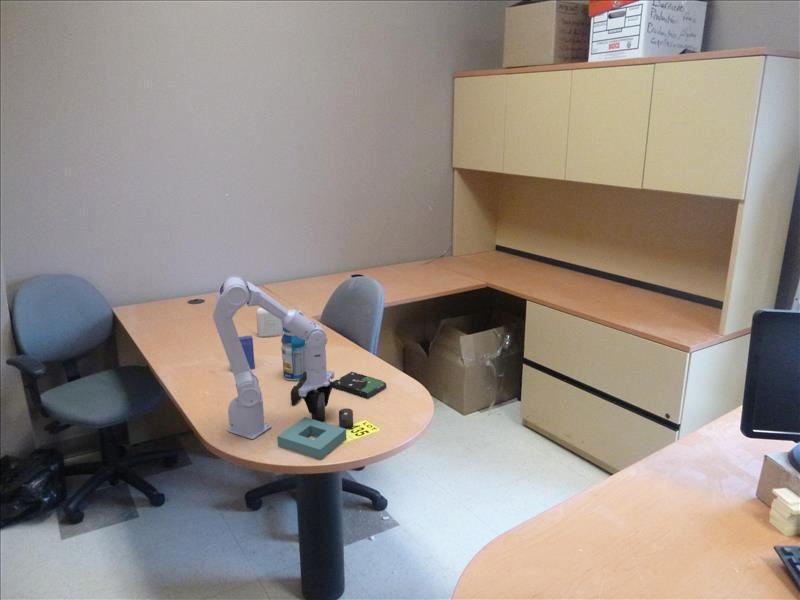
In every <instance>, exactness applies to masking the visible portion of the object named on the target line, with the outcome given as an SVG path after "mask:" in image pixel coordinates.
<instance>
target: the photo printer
mask: <svg viewBox="0 0 800 600" xmlns="http://www.w3.org/2000/svg"><path fill="white" fill-rule="evenodd" d="M256 327H257V328H256V330H257V331H256V332H257V336H258V337H259V338H262V337H263V338H264V337H282V336H283V334H284V332H283V326H282V322H281V320H280V319H279V318H277V317H276V316H274V315H272V314H271V313H269V312H268V311H266V310H264V309H263V308H261V307H259V308H257V311H256Z"/></svg>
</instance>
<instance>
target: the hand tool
mask: <svg viewBox="0 0 800 600" xmlns="http://www.w3.org/2000/svg"><path fill="white" fill-rule="evenodd" d="M306 380H307V373H306V371H305V372H304V373H303V377H302V378H300V379H299V380H298V382H297V384H296V385H293V387H292V388H291V391H290V400H291V406H295V405H296V404H298V403H299V401H301V400H302V396H299V389H300V388H301V387H302V386H303V384H304V383H305V381H306Z"/></svg>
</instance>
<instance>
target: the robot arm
mask: <svg viewBox="0 0 800 600" xmlns="http://www.w3.org/2000/svg"><path fill="white" fill-rule="evenodd" d="M216 295H217V297H216V299H215V303H214V306H213V309H212V318H213V319H212V320H213V322H214V324H215V327H216V330H217V333H218V336H219V338H220V341H221V344H222V345H223V350H224V351H225V355H226V357H227V359H228V360H227V361H228V363H229V365H230V369H231V372H232V371H233V372H232V374H233V376H234V380H235V387H236V392H237V397H234V398H233V399H232V400H231V401H230V402H229V404H228V408H227V415H228V425H229V428H228V429H227V432H229V433H232V434H234V435H238V436H241V437H244V438H248V439H250V440H254V439H256V438H257V437H259V436H261V435H262V434H263V433H265V432H266V431H268V430H269V429H272V425H271V424H267V423H265V413H264V399H263V397H262V396H263V394H262V391H261V388H260V385H259V379H258V377H257V376H256V375H255V374H254V373H253V372H252V369H250V367H249V364H248V362H247V359H246V356H245V353H244V350H243V347H242V345H241V342H240V339H239V337H240V336H239V333H238V331H237V329H236V325H235V322H234V320H233V317H234V316H235V314H236V313H237V312H238V311H239V310H240V309H242V308H243V307H244V306H245V305H246V306H247V307H248V308H250V307H255V306H258V307H259V308H263V309H264V310H266V311H268V312H269V313H271V314H272V315H274V316H276V317H277V318H279V319H280V320H281V322H282V326H283V327H284V328H285V329H287V330H288V331H290V332H291V333H293V334H294V335H296V336H297V337H299V338H300V339H304V340H306V342H305V343H306V352H305V353H306V373H307V380H306V381H305V383H304V384H303V386H302V387H301V388H300V389H299V396H302V397H301V399H302V400H303V401H304V402H305V405H306V408H307V410H308V413H309V414H316V412H317V401H318V397H319V395H320V394H318V393H315V391H314V389H322V390H324V393H325V408H326V407H327V406H328V404H329V399H330V395H331V393H332V390H333V389H334V388H333V386H334V382H333V381H331V380H333V379H334V378H335V372H334V371H331V370H328V369H327V350H326V345H327V343H328V341H329V339H328V337H327V334H326V331H324V329H323V326H321V325H320V324H319V323H318V322H316V321H315V320H310V319H309V318H308V317H307V316H306V315H304V312H303V311H302V310H300V309H299V310H297V309H295V308H294V309H292V308H291V309H287V308H286V307H284V306H283V305H282V304H280V303H279V302H278V301H276V300H275V299H273V298H272V297H271V296H270V295H268V294H267V293H266V292H265V291H263V290H262V289H261V288H259V287H257V286H256V285H254V284H253V283H252V282H250V281H245V279H244V278H242V277H241V276H239V275H231V276H228V277H227V278H226V279H225V280H224V281H223V282H222V283H221V285H220V286H219V288H218V292H217V294H216Z"/></svg>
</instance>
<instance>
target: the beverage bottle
mask: <svg viewBox="0 0 800 600" xmlns="http://www.w3.org/2000/svg"><path fill="white" fill-rule="evenodd" d="M280 341H281V342H280V343H282V345H281V346H280V347H281V348H280V349H281V357H282V370H283V373H282V374H283V378H284V379H285V380H287V381H292V382H293V381H296V382H297V381H299V379H300V378H302V377H303V373H304V372H305V371H306V353H305V352H306V340H304V339H300V338H299V337H297V336H296V335H294V334H293V333H291V332H290V331H288V330H287V329H285V328H284V327H283V335H282V336H281V340H280Z"/></svg>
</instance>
